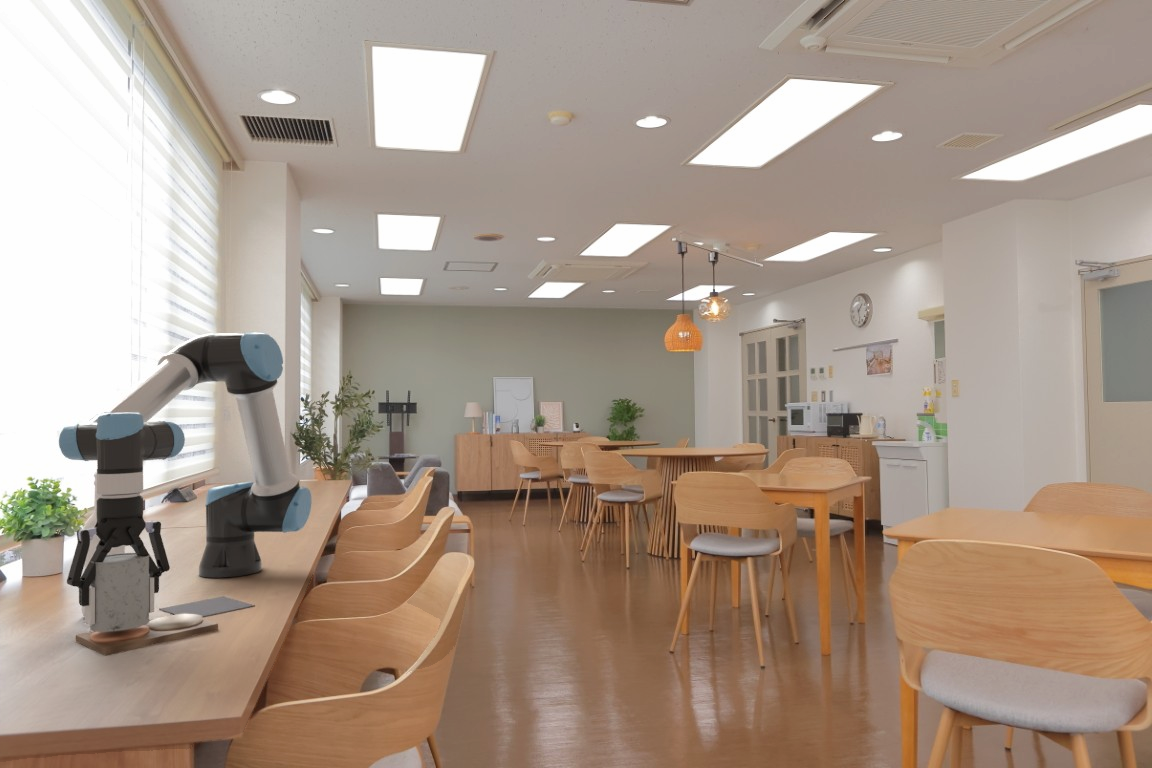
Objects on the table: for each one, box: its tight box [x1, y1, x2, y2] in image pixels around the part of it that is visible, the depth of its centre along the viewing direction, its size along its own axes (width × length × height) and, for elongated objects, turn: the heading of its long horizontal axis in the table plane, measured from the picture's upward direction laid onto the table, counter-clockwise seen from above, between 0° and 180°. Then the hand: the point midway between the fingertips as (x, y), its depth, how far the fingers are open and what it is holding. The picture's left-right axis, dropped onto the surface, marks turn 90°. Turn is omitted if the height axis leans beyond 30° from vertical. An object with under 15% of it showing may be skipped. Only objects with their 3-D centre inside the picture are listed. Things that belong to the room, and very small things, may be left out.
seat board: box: [75, 613, 219, 656], centre depth 152 cm, size 20×14×2 cm
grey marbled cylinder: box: [89, 552, 151, 632], centre depth 148 cm, size 10×10×12 cm
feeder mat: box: [159, 596, 256, 618], centre depth 173 cm, size 14×14×1 cm
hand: (120, 617), depth 148 cm, fingers closed on grey marbled cylinder, 9 cm apart
